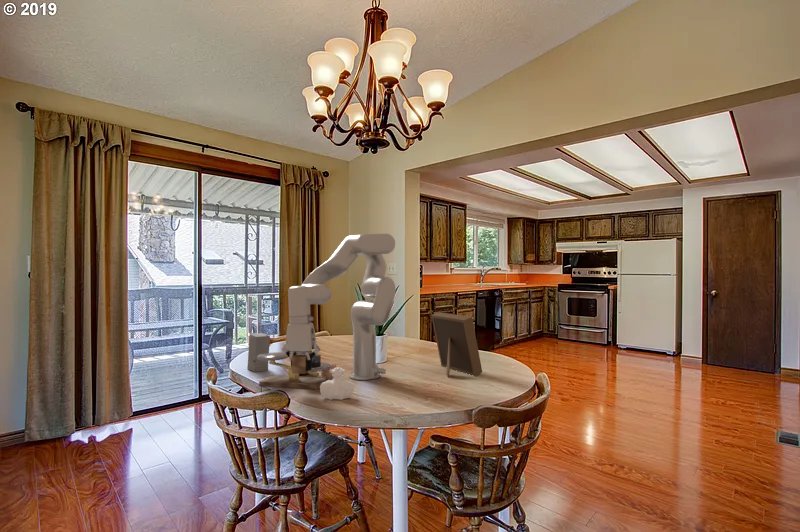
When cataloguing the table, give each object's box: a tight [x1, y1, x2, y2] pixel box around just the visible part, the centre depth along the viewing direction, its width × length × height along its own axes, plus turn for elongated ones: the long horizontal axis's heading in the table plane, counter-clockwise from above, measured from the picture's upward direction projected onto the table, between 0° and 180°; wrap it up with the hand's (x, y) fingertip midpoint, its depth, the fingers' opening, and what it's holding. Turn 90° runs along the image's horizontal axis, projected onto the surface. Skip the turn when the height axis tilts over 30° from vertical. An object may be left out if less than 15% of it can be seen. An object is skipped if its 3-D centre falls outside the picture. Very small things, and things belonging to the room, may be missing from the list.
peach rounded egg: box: [320, 362, 337, 381], centre depth 164 cm, size 6×6×6 cm
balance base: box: [258, 374, 327, 390], centre depth 158 cm, size 24×10×2 cm, turn 77°
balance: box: [257, 351, 331, 381], centre depth 158 cm, size 30×12×10 cm, turn 77°
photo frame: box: [430, 311, 483, 378], centre depth 175 cm, size 15×22×25 cm
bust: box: [319, 366, 355, 401], centre depth 142 cm, size 12×8×11 cm
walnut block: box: [292, 353, 310, 374], centre depth 146 cm, size 5×5×6 cm
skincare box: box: [247, 332, 271, 373], centre depth 180 cm, size 8×7×16 cm
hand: (301, 369), depth 146 cm, fingers closed on walnut block, 5 cm apart
